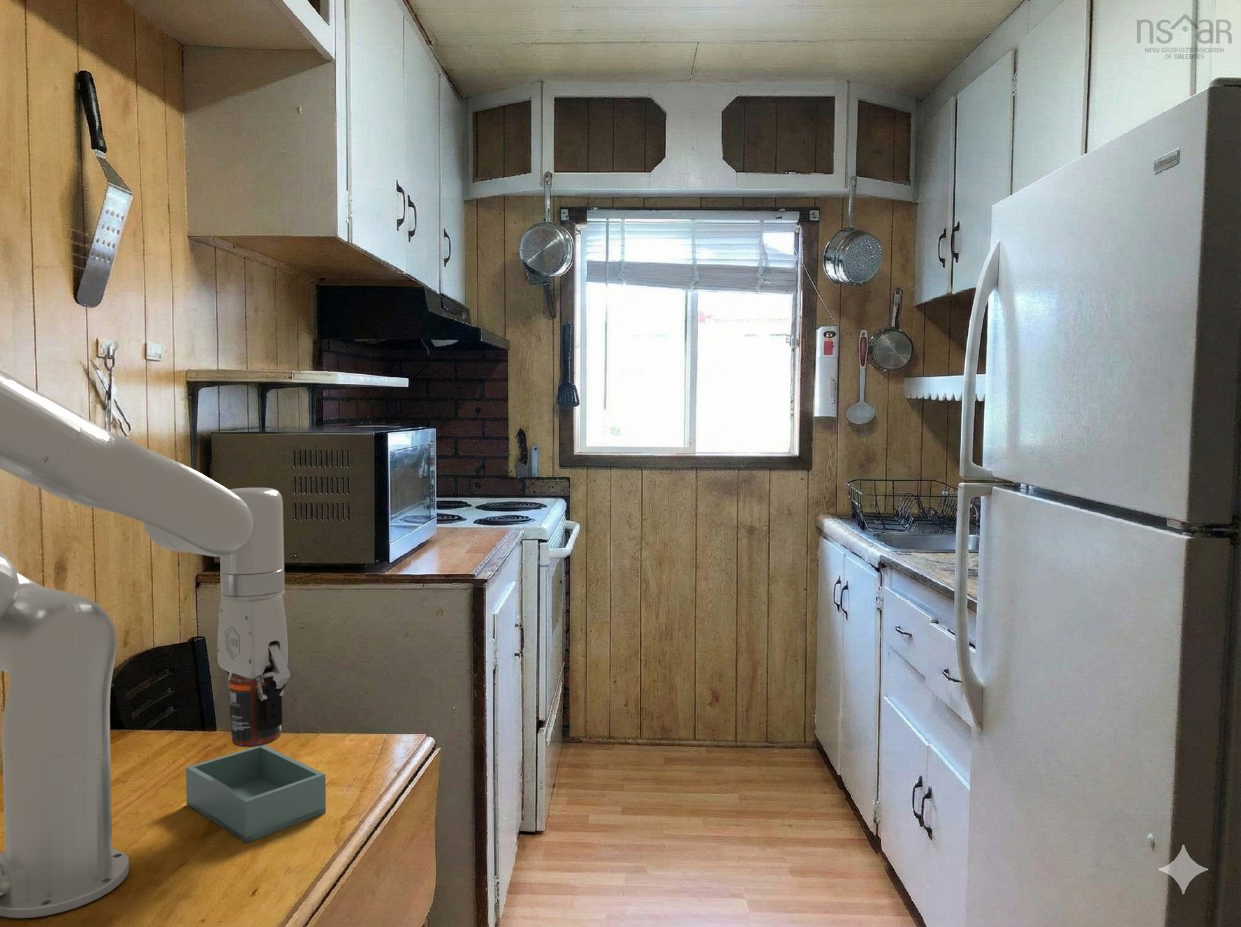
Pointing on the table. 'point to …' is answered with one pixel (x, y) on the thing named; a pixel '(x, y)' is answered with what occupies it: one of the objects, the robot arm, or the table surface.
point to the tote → (255, 792)
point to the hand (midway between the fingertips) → (256, 720)
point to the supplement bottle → (248, 713)
